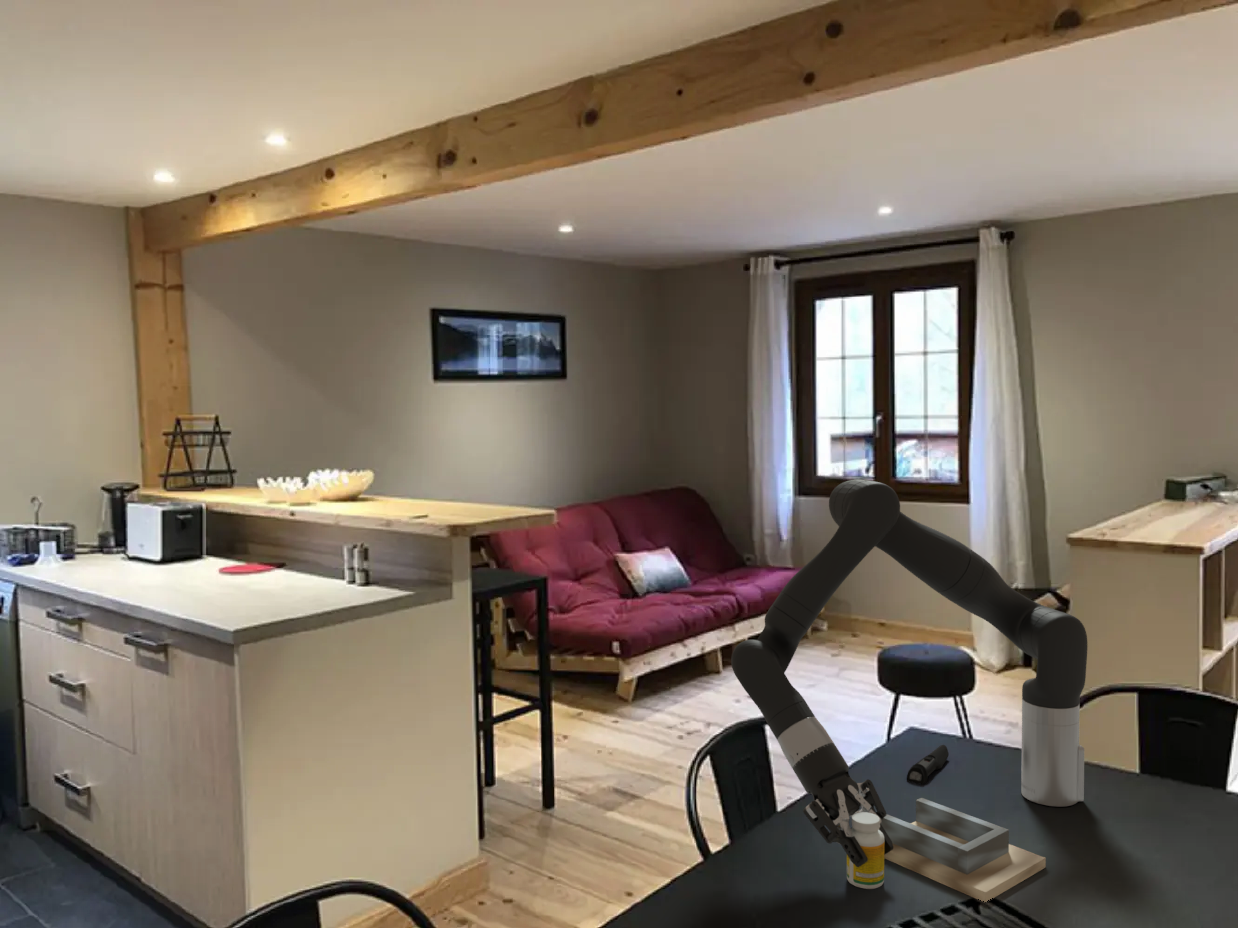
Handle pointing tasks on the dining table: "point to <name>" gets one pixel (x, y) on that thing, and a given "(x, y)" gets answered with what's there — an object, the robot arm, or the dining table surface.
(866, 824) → the supplement bottle
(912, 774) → the electric trimmer
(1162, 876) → the dining table surface
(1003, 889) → the tray
